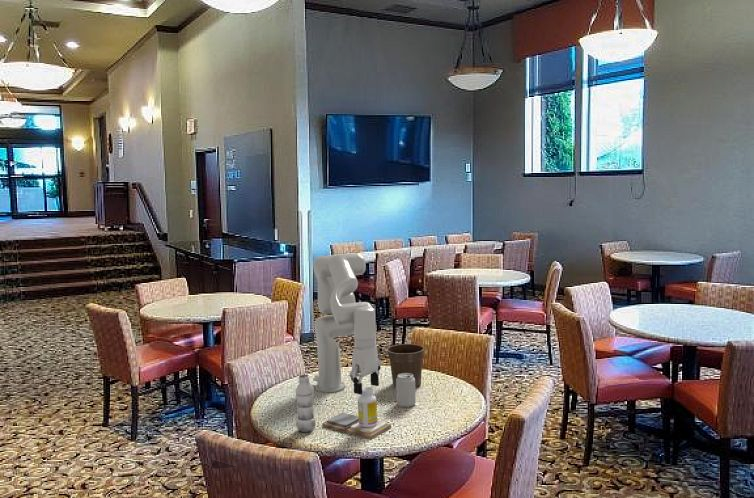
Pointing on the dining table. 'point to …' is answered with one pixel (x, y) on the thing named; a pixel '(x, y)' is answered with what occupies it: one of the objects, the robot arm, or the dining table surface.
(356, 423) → the makeup compact
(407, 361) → the plant pot
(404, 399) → the can
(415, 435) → the dining table surface
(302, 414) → the plastic bottle
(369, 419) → the supplement bottle
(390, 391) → the dining table surface
